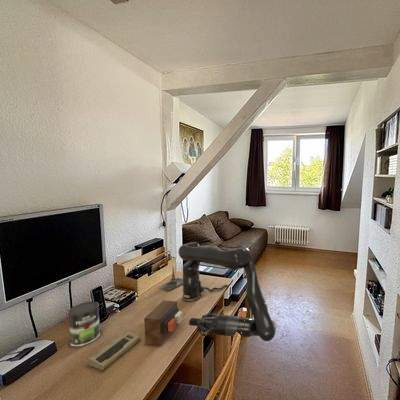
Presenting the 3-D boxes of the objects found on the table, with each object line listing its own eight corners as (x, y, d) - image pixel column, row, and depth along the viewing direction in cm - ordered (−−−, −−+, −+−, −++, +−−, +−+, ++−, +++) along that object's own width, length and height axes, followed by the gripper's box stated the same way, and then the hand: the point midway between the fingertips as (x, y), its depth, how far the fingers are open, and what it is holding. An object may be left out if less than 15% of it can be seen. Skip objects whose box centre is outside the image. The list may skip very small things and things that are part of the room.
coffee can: (102, 337, 97) (101, 307, 96) (71, 350, 90) (69, 318, 88) (97, 326, 104) (96, 298, 103) (68, 338, 97) (66, 307, 95)
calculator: (108, 293, 127) (124, 297, 121) (108, 300, 128) (125, 305, 122) (86, 302, 118) (103, 308, 111) (87, 310, 118) (103, 316, 112)
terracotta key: (167, 331, 94) (167, 323, 94) (172, 325, 98) (172, 318, 98) (172, 331, 94) (172, 323, 94) (176, 326, 98) (176, 318, 97)
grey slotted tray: (103, 371, 80) (103, 363, 80) (87, 365, 83) (87, 357, 82) (139, 341, 95) (139, 334, 95) (125, 337, 98) (125, 330, 97)
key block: (145, 344, 94) (144, 318, 92) (164, 323, 107) (163, 300, 106) (164, 346, 92) (163, 320, 91) (181, 325, 106) (180, 301, 105)
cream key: (174, 323, 100) (174, 315, 99) (178, 318, 103) (178, 311, 103) (178, 323, 100) (178, 316, 99) (182, 318, 103) (182, 311, 103)
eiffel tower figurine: (169, 291, 138) (169, 271, 136) (158, 287, 142) (158, 267, 141) (187, 281, 151) (187, 262, 150) (177, 278, 155) (177, 260, 154)
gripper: (233, 308, 99) (196, 304, 101) (223, 327, 86) (182, 323, 88) (233, 323, 100) (196, 319, 102) (223, 345, 87) (182, 340, 89)
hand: (190, 321), depth 95 cm, fingers closed
